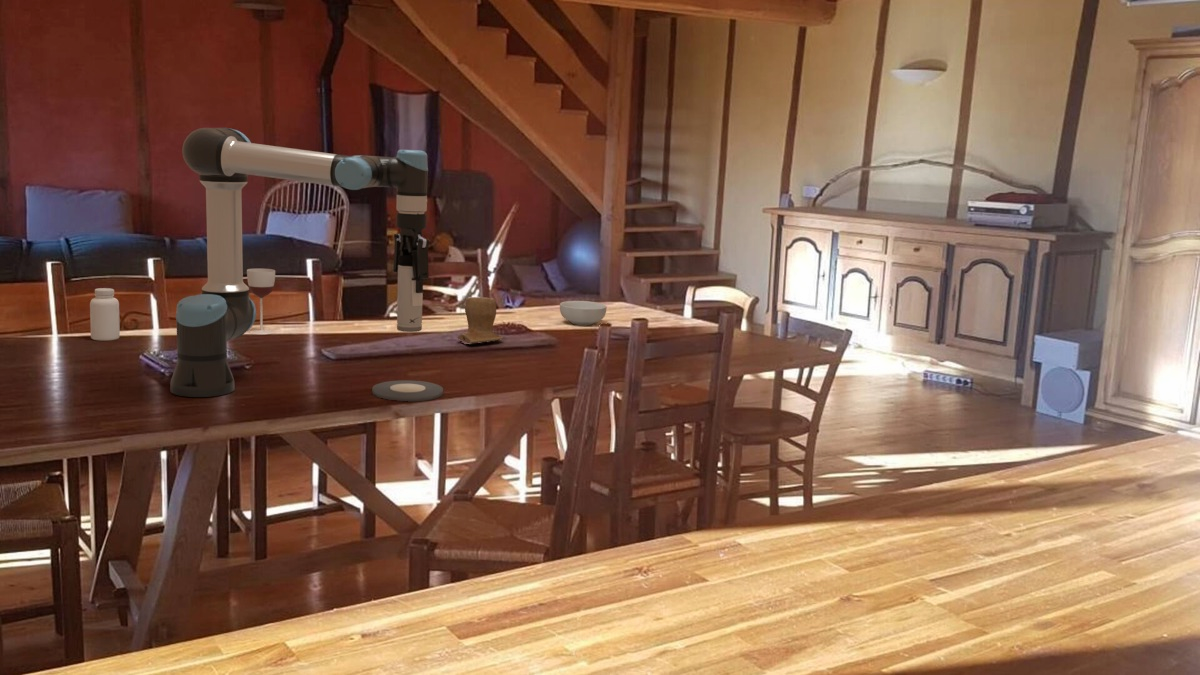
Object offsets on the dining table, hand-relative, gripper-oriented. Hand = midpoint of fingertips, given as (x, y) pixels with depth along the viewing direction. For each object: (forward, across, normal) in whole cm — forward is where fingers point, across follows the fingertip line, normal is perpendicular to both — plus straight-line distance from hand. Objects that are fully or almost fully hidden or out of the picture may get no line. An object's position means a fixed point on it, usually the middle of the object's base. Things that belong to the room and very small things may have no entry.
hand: (410, 303), depth 277 cm
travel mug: (+7, 0, 0) cm, 7 cm away
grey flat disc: (+24, 0, 0) cm, 24 cm away
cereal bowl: (+24, +63, -107) cm, 126 cm away
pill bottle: (+23, +99, +47) cm, 112 cm away
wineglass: (+23, +91, +2) cm, 94 cm away
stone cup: (+24, +49, -53) cm, 76 cm away
